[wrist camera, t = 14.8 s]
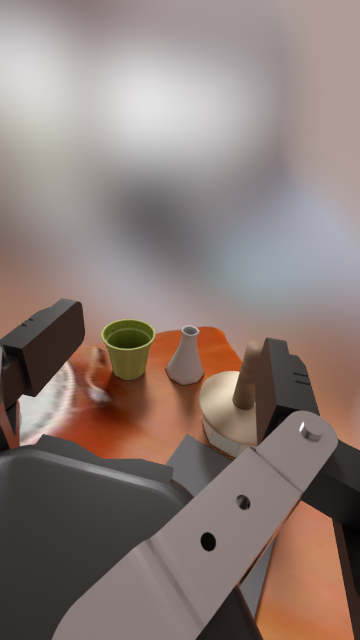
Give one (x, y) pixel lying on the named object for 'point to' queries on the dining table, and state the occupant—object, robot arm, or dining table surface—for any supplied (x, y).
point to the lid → (233, 400)
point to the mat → (195, 474)
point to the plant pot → (128, 346)
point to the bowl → (224, 442)
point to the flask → (186, 359)
